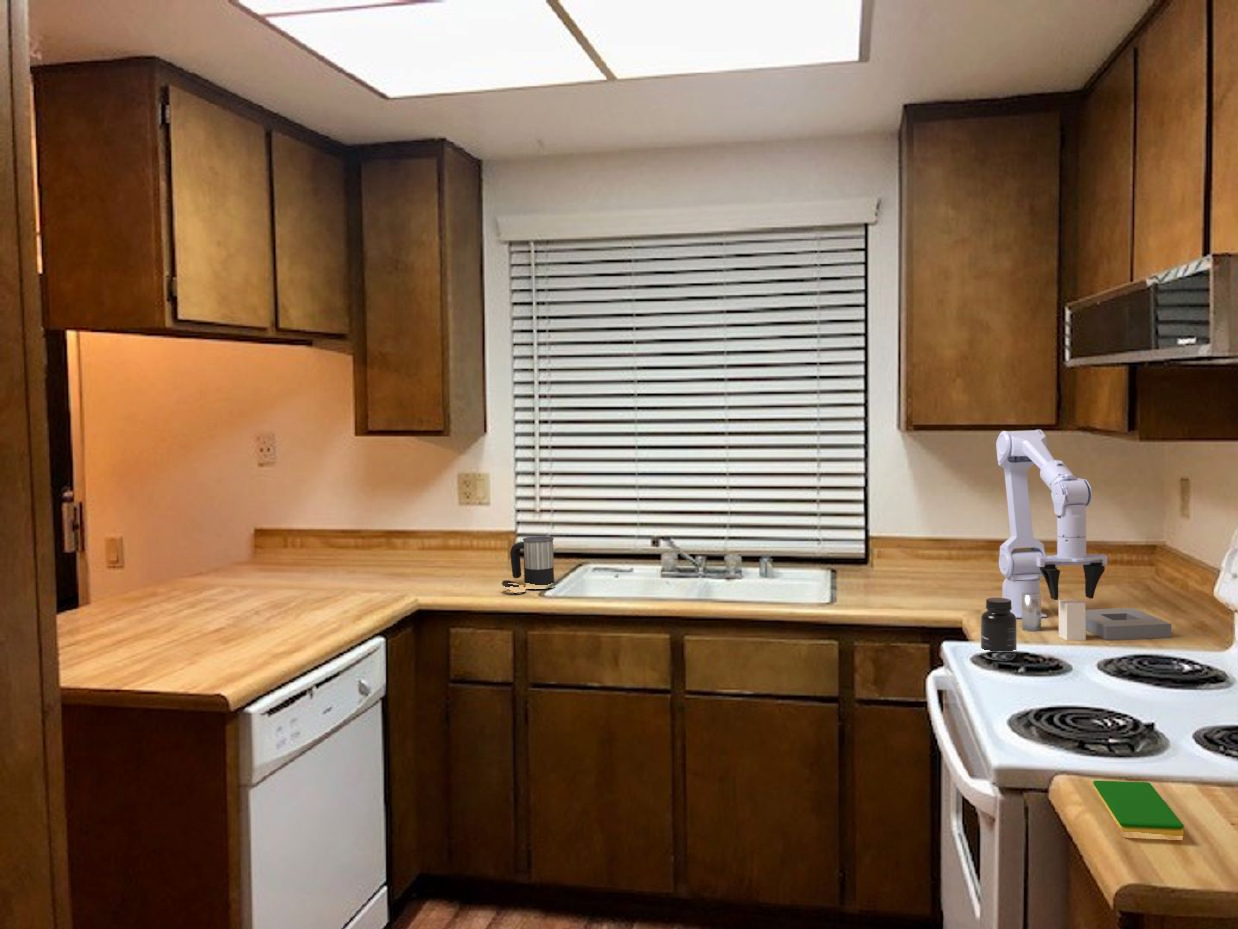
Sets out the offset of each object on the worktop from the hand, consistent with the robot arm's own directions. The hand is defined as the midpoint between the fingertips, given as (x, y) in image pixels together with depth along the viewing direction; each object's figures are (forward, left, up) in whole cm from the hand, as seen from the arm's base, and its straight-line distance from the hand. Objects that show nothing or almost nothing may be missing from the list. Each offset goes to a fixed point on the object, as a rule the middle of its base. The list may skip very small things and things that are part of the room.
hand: (1071, 598), depth 220 cm
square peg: (0, 0, -9) cm, 9 cm away
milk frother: (-78, -123, -9) cm, 146 cm away
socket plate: (-5, +13, -9) cm, 16 cm away
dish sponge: (+89, -33, -9) cm, 95 cm away
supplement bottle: (+13, -21, -9) cm, 26 cm away
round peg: (-9, -5, -9) cm, 14 cm away
